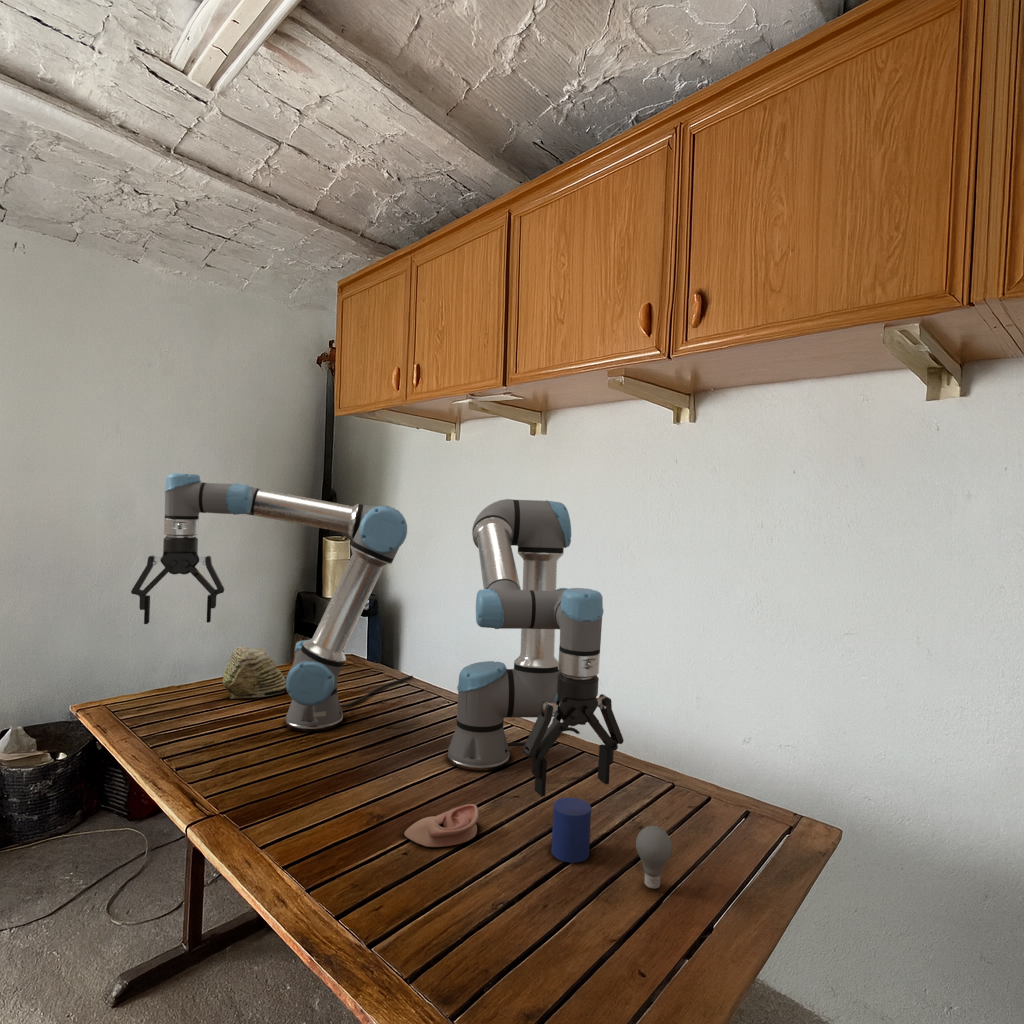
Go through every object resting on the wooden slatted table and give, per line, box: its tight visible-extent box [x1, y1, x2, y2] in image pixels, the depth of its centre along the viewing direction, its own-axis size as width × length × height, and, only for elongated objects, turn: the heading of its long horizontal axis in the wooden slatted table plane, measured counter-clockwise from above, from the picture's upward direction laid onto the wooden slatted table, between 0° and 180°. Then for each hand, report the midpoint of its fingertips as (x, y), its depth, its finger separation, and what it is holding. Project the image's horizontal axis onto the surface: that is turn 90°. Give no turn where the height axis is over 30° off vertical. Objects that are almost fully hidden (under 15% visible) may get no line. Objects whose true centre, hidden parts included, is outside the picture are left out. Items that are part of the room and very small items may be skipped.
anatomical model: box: [404, 803, 479, 848], centre depth 121 cm, size 13×4×12 cm
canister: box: [551, 796, 592, 864], centre depth 117 cm, size 7×7×9 cm
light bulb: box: [635, 825, 673, 889], centre depth 107 cm, size 6×6×10 cm
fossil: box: [222, 646, 287, 699], centre depth 198 cm, size 9×18×15 cm, turn 132°
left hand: (178, 622), depth 156 cm, fingers open, 13 cm apart
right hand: (572, 787), depth 117 cm, fingers open, 13 cm apart
